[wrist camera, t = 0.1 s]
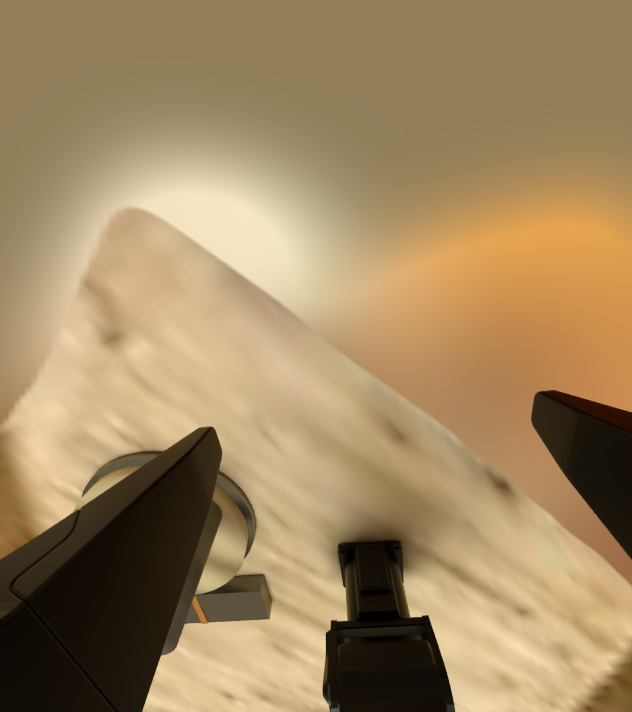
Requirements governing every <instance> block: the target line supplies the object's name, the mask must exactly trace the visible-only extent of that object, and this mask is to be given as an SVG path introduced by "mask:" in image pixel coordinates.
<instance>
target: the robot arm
mask: <svg viewBox="0 0 632 712" xmlns="http://www.w3.org/2000/svg"><path fill="white" fill-rule="evenodd" d="M531 421H532V424H533V427H534V428H535V430H536V431H537V433H538V435H539V436H540V438H541V439H542V441H543V442H544V444H545V445H546V447H547V449H548V450H549V452H550V453H551V455H552V456H553V458H554V459H555V461H556V463H557V464H558V466H559V467H560V468H561V470H562V472H563V473H564V474H565V476H566V477H567V479H568V480H569V481H570V483H571V484H572V485H573V486H574V488H575V489H576V490H577V491H578V493H579V494H580V495H581V496H582V498H583V499H584V500H585V502H586V503H587V504H588V505H589V507H590V508H591V509H592V510H593V512H594V513H595V514H596V515H597V517H598V518H599V519H600V520H601V522H602V523H603V524H604V525H605V527H606V528H607V529H608V530H609V532H610V533H611V534H612V536H613V537H614V538H615V539H616V540H617V542H618V543H619V544H620V546H621V547H622V548H623V549H624V551H625V552H626V553H627V554H628V556H629V557H630V558H631V559H632V412H628V411H625V410H621V409H618V408H615V407H611V406H608V405H604V404H601V403H597V402H594V401H590V400H587V399H583V398H579V397H576V396H573V395H569V394H566V393H562V392H559V391H555V390H549V391H540V392H537V393H536V394H535V397H534V403H533V409H532V416H531ZM221 458H222V449H221V446H220V443H219V439H218V436H217V433H216V431H215V429H214V428H213V427H201V428H198V429H196V430H195V431H193V432H192V433H190V434H189V435H188V436H186V437H185V438H183V439H182V440H180V441H179V442H177V443H176V444H174V445H173V446H171V447H170V448H168V449H167V450H165V451H164V452H162V453H161V454H159V455H158V456H156V457H155V458H153V459H152V460H150V461H149V462H147V463H146V464H145V465H143V466H142V467H140V468H139V469H137V470H136V471H134V472H133V473H131V474H130V475H128V476H127V477H125V478H124V479H122V480H121V481H119V482H118V483H116V484H115V485H113V486H112V487H110V488H109V489H107V490H106V491H104V492H103V493H102V494H100V495H99V496H97V497H96V498H94V499H93V500H91V501H90V502H88V503H87V504H85V505H84V506H82V507H81V509H78V510H76V511H75V512H73V513H72V514H70V515H69V516H67V517H66V518H64V519H63V520H61V521H60V522H58V523H57V524H55V525H54V526H52V527H51V528H49V529H48V530H46V531H45V532H43V533H42V534H40V535H39V536H37V537H36V538H34V539H32V540H31V541H29V542H28V543H26V544H24V545H23V546H21V547H20V548H18V549H16V550H15V551H13V552H12V553H10V554H8V555H7V556H5V557H4V558H2V559H0V712H142V710H143V707H144V704H145V701H146V698H147V695H148V692H149V689H150V686H151V683H152V680H153V677H154V675H155V672H156V669H157V666H158V663H159V660H160V657H161V654H162V651H163V648H164V645H165V642H166V639H167V636H168V633H169V630H170V627H171V624H172V621H173V618H174V615H175V612H176V609H177V606H178V603H179V600H180V597H181V594H182V591H183V588H184V585H185V582H186V579H187V576H188V573H189V570H190V567H191V564H192V561H193V558H194V555H195V552H196V549H197V546H198V543H199V540H200V537H201V534H202V531H203V528H204V525H205V522H206V519H207V516H208V513H209V510H210V507H211V503H212V499H213V495H214V490H215V486H216V481H217V477H218V472H219V467H220V463H221ZM338 555H339V561H340V567H341V573H342V580H343V586H344V587H345V588H346V602H347V619H348V621H337V620H332V621H331V630H329V631H328V632H327V633H326V660H325V670H324V679H323V697H324V698H325V700H326V701H327V703H328V704H329V708H330V712H455V707H454V702H453V696H452V692H451V687H450V683H449V679H448V675H447V672H446V668H445V665H444V662H443V659H442V656H441V653H440V650H439V647H438V644H437V640H436V637H435V634H434V631H433V628H432V625H431V622H430V619H429V616H428V615H425V616H422V617H412V618H410V613H409V609H408V604H407V600H406V595H405V591H404V586H403V582H404V581H403V559H402V546H401V542H399V541H386V542H372V543H358V544H344V545H339V546H338Z"/></svg>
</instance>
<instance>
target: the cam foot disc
mask: <svg viewBox="0 0 632 712" xmlns="http://www.w3.org/2000/svg"><path fill="white" fill-rule="evenodd" d="M142 466H143V465H137V466H130V467H125V468H122V469H118V470H115V471H113V472H111V473H108V474H107V475H105V476H104V477H102V478H100V479H99V480H98V481H97V482H96V483H95V484H94V485H93V486H92V487H91V488H90V489H89V490H88V492H87V493H86V494H85V495H84V496H83V497H82V498H81V500H80V501H79V502H78V504H77V506H76V508H75V510H74V512H75V511H76V510H78V509H81V507H82V506H84V505H85V504H87V503H88V502H90V501H91V500H93V499H94V498H96V497H97V496H99V495H100V494H102V493H103V492H104V491H106V490H107V489H109V488H110V487H112V486H113V485H115V484H116V483H118V482H119V481H121V480H122V479H124V478H125V477H127V476H128V475H130V474H131V473H133V472H134V471H136V470H137V469H139V468H140V467H142ZM247 543H248V528H247V524H246V521H245V518H244V516H243V514H242V512H241V511H240V509H239V507H238V506H237V505H236V503H235V502H234V501H233V500H232V499H231V498H230V497H229V496H228V495H227V494H226V493H225V492H224V491H222V490H221V489H220V488H219V487H217V486H215V490H214V495H213V499H212V503H211V507H210V510H209V513H208V516H207V519H206V522H205V525H204V528H203V531H202V534H201V537H200V540H199V543H198V546H197V549H196V552H195V555H194V558H193V561H192V564H191V567H190V570H189V573H188V576H187V579H186V582H185V585H184V588H183V591H182V594H181V597H180V600H179V603H178V606H177V609H176V612H175V615H174V618H173V621H172V624H171V627H170V630H169V633H168V636H167V639H166V642H165V645H164V648H163V651H162V654H161V655H166V654H168V653H170V652H172V651H173V650H174V649H175V648H176V647H177V644H178V641H179V638H180V635H181V633H182V630H183V627H184V624H185V621H186V618H187V616H188V613H189V610H190V607H191V604H192V601H193V599H194V596H195V595H197V594H202V593H206V592H209V591H212V590H215V589H217V588H219V587H221V586H223V585H224V584H226V583H227V582H228V581H230V580H231V579H232V578H233V577H234V576H235V575H236V574H237V572H238V571H239V569H240V567H241V565H242V563H243V560H244V556H245V552H246V548H247Z"/></svg>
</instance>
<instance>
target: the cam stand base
mask: <svg viewBox="0 0 632 712" xmlns="http://www.w3.org/2000/svg"><path fill="white" fill-rule="evenodd" d="M161 453H162V452H142V453H136V454H130V455H127V456H123V457H120V458H118V459H116V460H114V461H111V462H110V463H108V464H107V465H105V466H104V467H103V468H102V469H100V470H99V471H98V472H97V473H96V474H95V475H94V476H93V478H92V479H91V480H90V481H89V483H88V484H87V485H86V487H85V489H84V491H83V494H82V497H83V496H84V495H85V494H86V493H87V492H88V490H89V489H90V488H91V487H92V486H93V485H94V484H95V483H96V482H97V481H98V480H99V479H100V478H102V477H104V476H105V475H107V474H108V473H111V472H113V471H115V470H118V469H122V468H125V467H130V466H137V465H145V464H146V463H147V462H149V461H150V460H152V459H153V458H155V457H156V456H158V455H159V454H161ZM216 486H217V487H219V488H220V489H221V490H222V491H224V492H225V493H226V494H227V495H228V496H229V497H230V498H231V499H232V500H233V501H234V502H235V503H236V505H237V506H238V507H239V509H240V511H241V512H242V514H243V516H244V518H245V521H246V524H247V528H248V543H247V548H246V552H245V556H244V558H245V557H246V556H247V554H248V553H249V551H250V549H251V546H252V544H253V540H254V535H255V529H256V524H255V516H254V512H253V509H252V507H251V504H250V502H249V501H248V499H247V497H246V496H245V494H244V493H243V492H242V491H241V489H240V488H239V487H238V486H237V485H236V484H235V483H234V482H233V481H232V480H231V479H229V478H228V477H227V476H225V475H224V474H223V473H221V472H220V471H219V472H218V477H217V481H216ZM271 605H272V601H271V598H270V595H269V591H268V588H267V585H266V582H265V579H264V575H251V576H235V577H233V578H232V579H231V580H230V581H228V582H227V583H226V584H224V585H223V586H221V587H219V588H217V589H215V590H212V591H209V592H206V593H202V594H197V595H195V596H194V599H193V601H192V604H191V607H190V610H189V613H188V616H187V618H186V621H185V624H186V623H202V624H205V623H208V622H224V621H243V620H262V619H270V612H271Z"/></svg>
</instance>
